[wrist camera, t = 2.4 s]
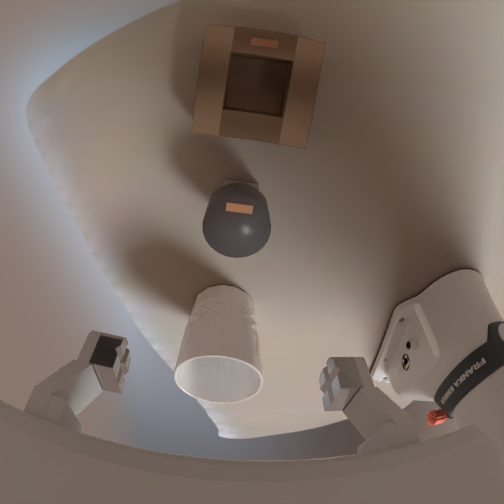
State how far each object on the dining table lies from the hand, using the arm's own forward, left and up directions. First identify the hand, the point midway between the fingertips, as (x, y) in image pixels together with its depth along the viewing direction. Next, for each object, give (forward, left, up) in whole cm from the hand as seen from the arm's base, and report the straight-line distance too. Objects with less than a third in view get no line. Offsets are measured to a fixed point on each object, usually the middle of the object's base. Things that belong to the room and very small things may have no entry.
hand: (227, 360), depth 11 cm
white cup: (-13, 0, -18) cm, 22 cm away
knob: (0, 0, -18) cm, 18 cm away
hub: (+10, 0, -18) cm, 20 cm away
